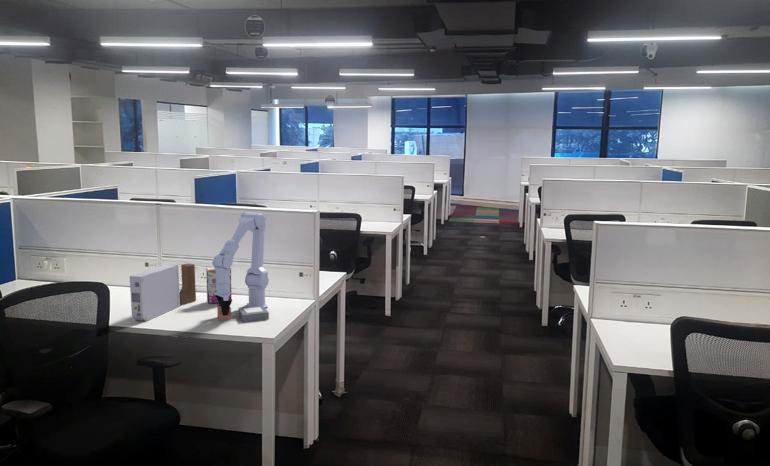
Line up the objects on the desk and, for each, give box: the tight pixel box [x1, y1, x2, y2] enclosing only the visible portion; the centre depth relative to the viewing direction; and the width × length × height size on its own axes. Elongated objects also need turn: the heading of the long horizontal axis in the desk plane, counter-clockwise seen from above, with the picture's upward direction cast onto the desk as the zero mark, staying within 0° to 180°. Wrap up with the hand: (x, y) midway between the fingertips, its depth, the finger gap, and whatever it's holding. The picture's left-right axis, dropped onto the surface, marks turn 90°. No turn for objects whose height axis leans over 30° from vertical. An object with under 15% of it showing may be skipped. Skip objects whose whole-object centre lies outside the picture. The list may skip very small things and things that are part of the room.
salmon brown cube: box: [216, 305, 232, 321], centre depth 262 cm, size 5×5×5 cm
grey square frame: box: [237, 306, 270, 323], centre depth 264 cm, size 11×11×3 cm
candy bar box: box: [205, 267, 232, 304], centre depth 288 cm, size 11×5×16 cm, turn 111°
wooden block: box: [179, 263, 197, 306], centre depth 286 cm, size 9×4×18 cm, turn 147°
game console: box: [129, 263, 181, 322], centre depth 267 cm, size 6×27×20 cm, turn 164°
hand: (224, 313), depth 262 cm, fingers open, 7 cm apart
